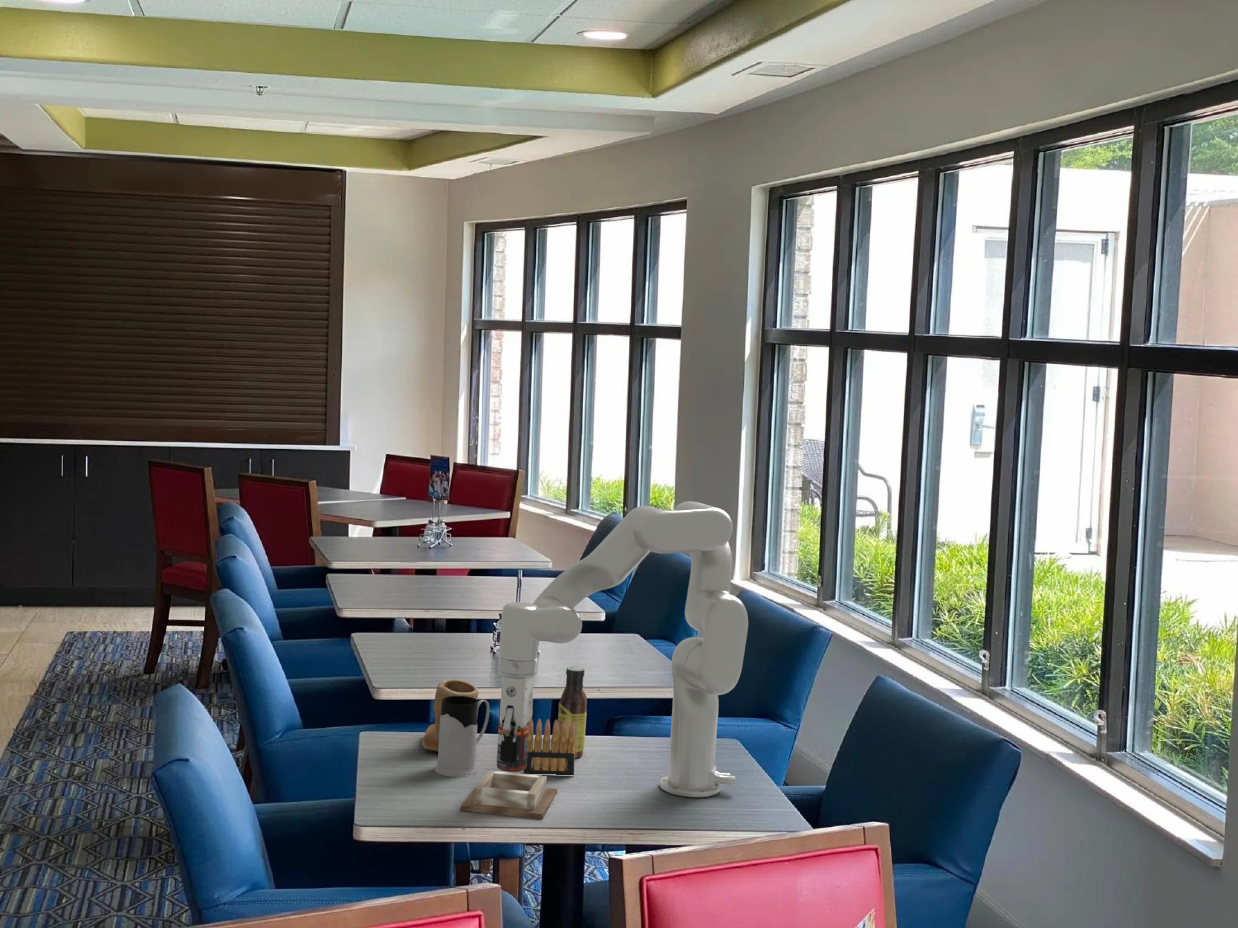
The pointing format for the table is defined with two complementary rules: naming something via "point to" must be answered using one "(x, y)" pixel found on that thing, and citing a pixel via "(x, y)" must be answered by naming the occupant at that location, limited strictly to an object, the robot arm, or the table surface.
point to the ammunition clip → (556, 758)
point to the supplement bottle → (521, 752)
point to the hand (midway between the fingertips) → (512, 755)
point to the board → (511, 795)
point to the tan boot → (443, 690)
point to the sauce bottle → (574, 707)
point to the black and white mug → (459, 735)
